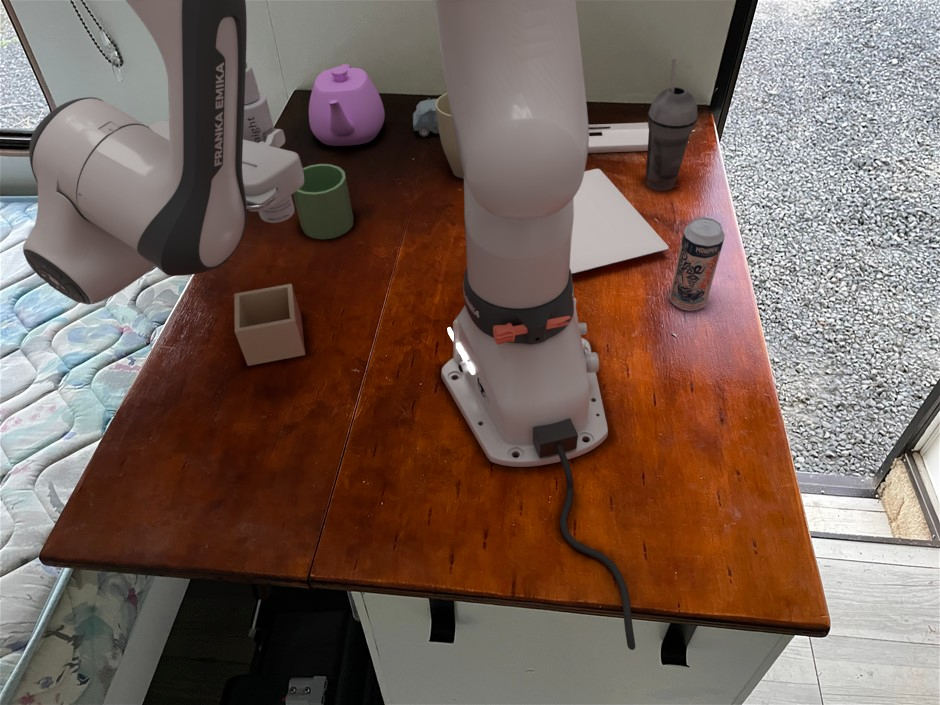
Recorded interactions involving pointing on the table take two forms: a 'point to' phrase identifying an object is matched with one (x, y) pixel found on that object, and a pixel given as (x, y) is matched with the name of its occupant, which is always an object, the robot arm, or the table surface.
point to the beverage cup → (668, 134)
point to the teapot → (345, 107)
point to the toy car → (426, 117)
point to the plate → (607, 226)
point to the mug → (448, 135)
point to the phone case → (619, 138)
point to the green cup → (324, 202)
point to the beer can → (696, 263)
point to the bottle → (261, 138)
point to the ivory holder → (268, 324)
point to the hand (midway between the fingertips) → (259, 129)
